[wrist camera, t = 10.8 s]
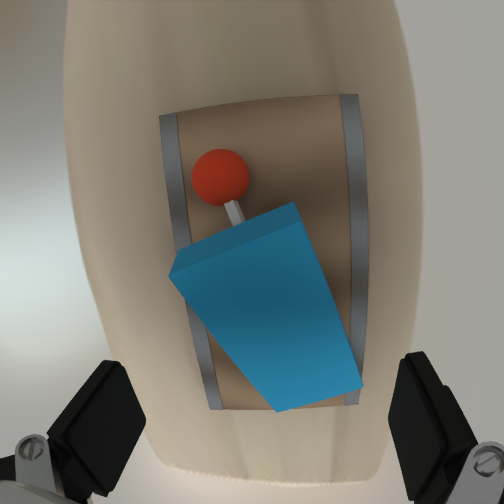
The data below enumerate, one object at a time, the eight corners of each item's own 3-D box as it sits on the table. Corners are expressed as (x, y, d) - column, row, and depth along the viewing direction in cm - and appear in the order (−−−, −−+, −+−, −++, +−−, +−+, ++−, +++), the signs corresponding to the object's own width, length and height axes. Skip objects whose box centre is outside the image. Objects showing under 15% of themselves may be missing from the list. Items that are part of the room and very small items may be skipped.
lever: (344, 323, 26) (261, 123, 18) (363, 387, 20) (265, 145, 12) (272, 347, 28) (164, 170, 19) (276, 412, 22) (126, 214, 13)
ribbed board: (166, 118, 20) (159, 116, 19) (353, 98, 18) (357, 94, 17) (212, 400, 26) (210, 409, 25) (356, 394, 25) (358, 404, 23)
